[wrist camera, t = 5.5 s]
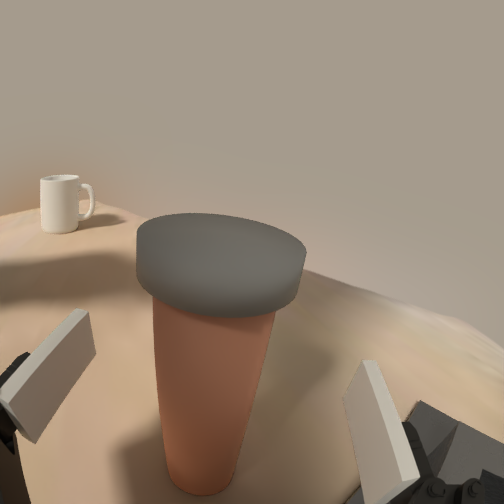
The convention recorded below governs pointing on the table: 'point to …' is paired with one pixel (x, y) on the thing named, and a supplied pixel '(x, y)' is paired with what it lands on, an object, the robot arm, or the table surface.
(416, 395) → the table surface
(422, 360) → the table surface
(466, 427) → the hitch plate
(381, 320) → the table surface
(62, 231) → the cup
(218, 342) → the pin
